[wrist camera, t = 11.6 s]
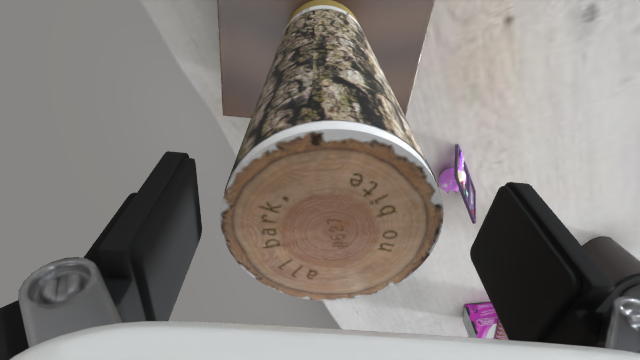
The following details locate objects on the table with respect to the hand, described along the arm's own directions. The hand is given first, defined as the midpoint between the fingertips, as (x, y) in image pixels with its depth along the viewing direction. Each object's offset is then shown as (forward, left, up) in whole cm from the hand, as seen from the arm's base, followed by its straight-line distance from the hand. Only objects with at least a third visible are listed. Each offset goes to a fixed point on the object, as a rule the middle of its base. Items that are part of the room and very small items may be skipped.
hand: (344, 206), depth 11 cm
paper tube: (+1, 0, -25) cm, 25 cm away
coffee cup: (+32, +50, -36) cm, 69 cm away
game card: (+20, +21, -36) cm, 46 cm away
